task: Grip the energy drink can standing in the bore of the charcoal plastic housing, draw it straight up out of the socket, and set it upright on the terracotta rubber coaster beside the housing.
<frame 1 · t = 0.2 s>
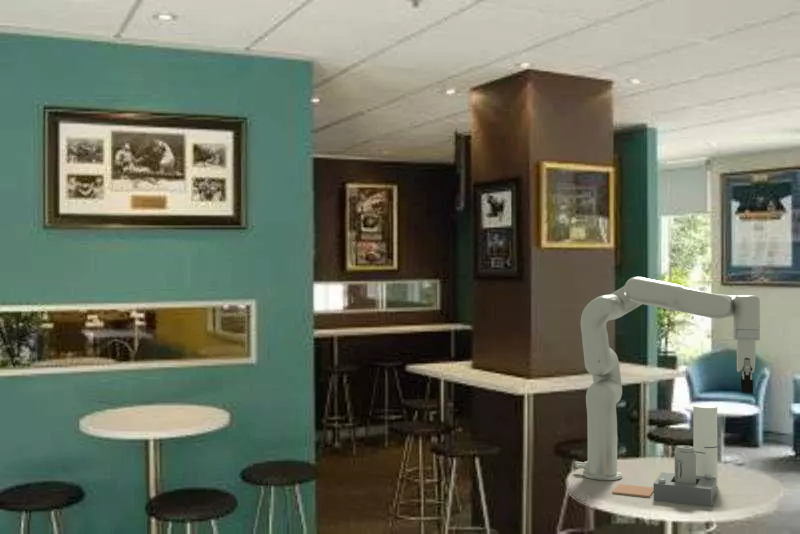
hand: (746, 390, 258), 31 cm above the table, fingers open, 9 cm apart
energy drink can: (685, 497, 251), resting in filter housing
coaster: (634, 491, 257), on the table
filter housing: (685, 497, 251), on the table
cylindrical container: (705, 486, 265), on the table
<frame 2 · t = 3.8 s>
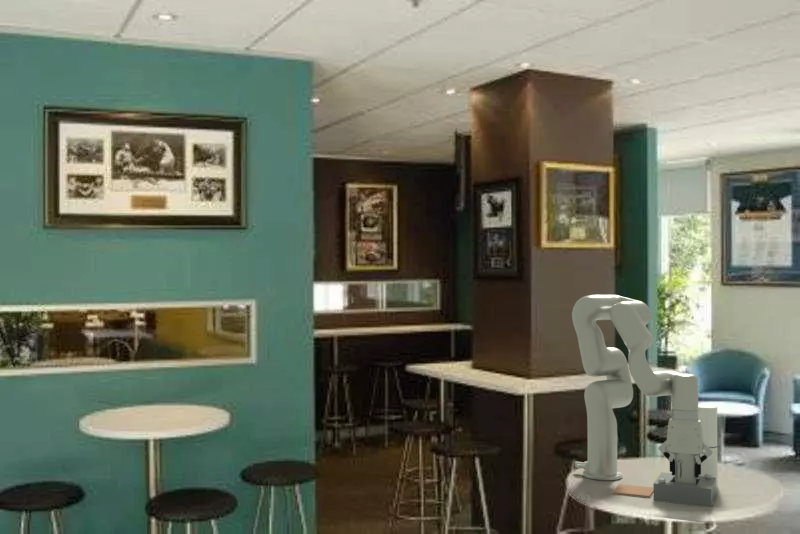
hand: (685, 475, 251), 7 cm above the table, fingers closed on energy drink can, 6 cm apart
energy drink can: (685, 497, 251), resting in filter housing, touching gripper
everything else where it was.
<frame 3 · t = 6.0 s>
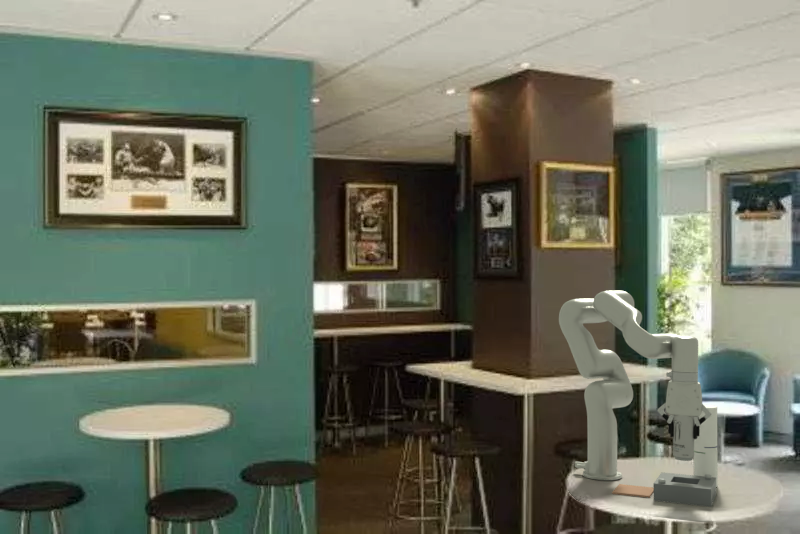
hand: (683, 436, 251), 18 cm above the table, fingers closed on energy drink can, 6 cm apart
energy drink can: (683, 459, 251), point 11 cm above the table, touching gripper
everything else where it was.
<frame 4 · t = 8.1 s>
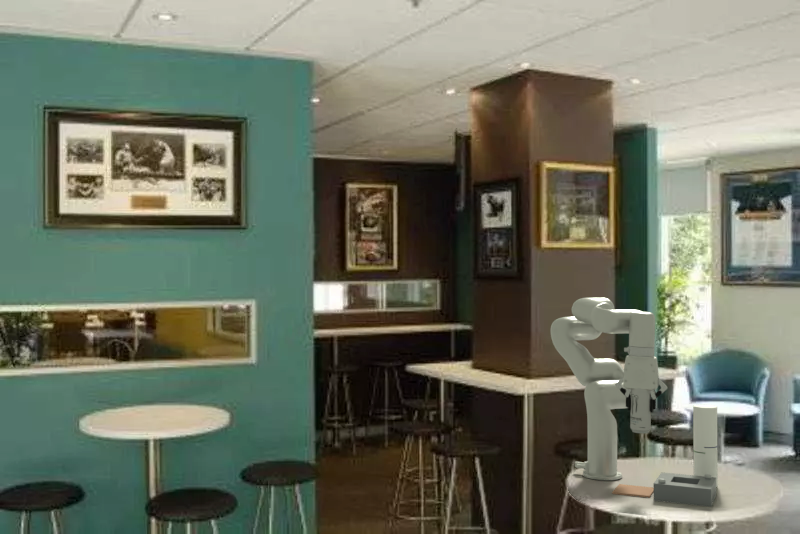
hand: (640, 410, 257), 25 cm above the table, fingers closed on energy drink can, 6 cm apart
energy drink can: (640, 432, 257), point 18 cm above the table, touching gripper
everything else where it was.
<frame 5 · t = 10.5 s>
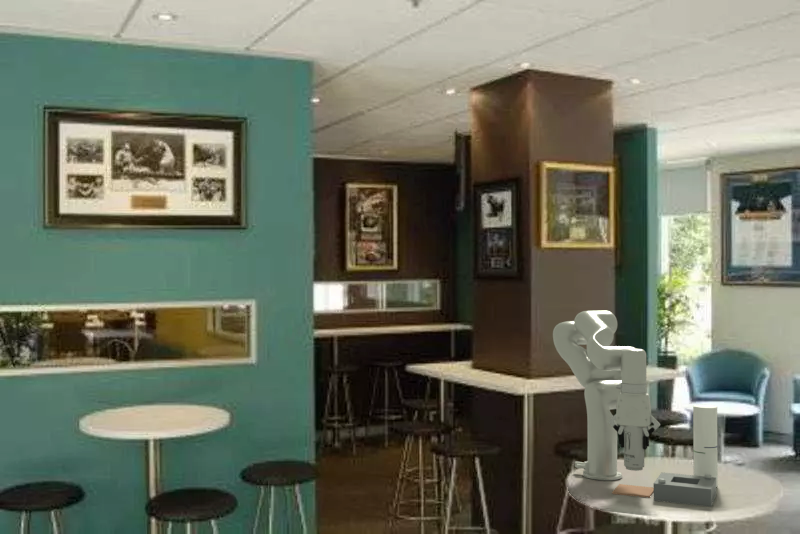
hand: (634, 447, 257), 14 cm above the table, fingers closed on energy drink can, 6 cm apart
energy drink can: (634, 469, 257), point 7 cm above the table, touching gripper
everything else where it was.
when the fingers open (8 cm above the table, at t = 12.5 s): energy drink can drops 1 cm, resting on coaster.
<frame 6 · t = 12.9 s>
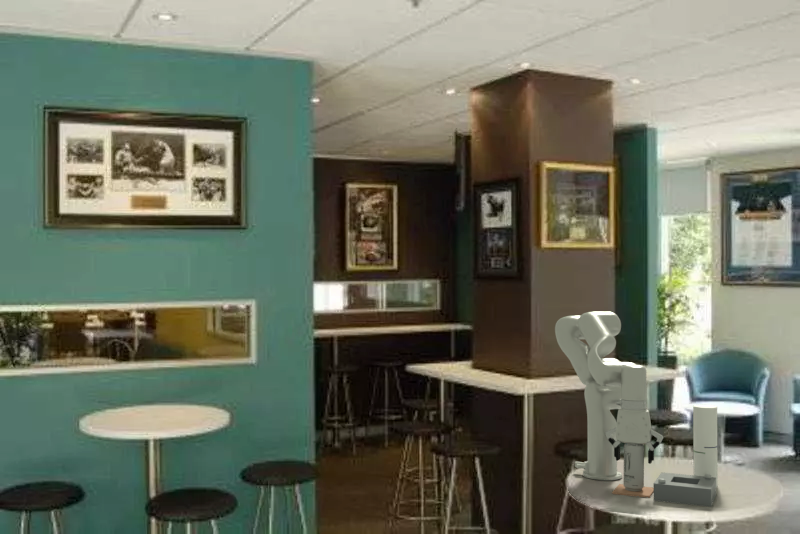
hand: (633, 461, 257), 9 cm above the table, fingers open, 9 cm apart
energy drink can: (633, 490, 257), resting on coaster
everything else where it was.
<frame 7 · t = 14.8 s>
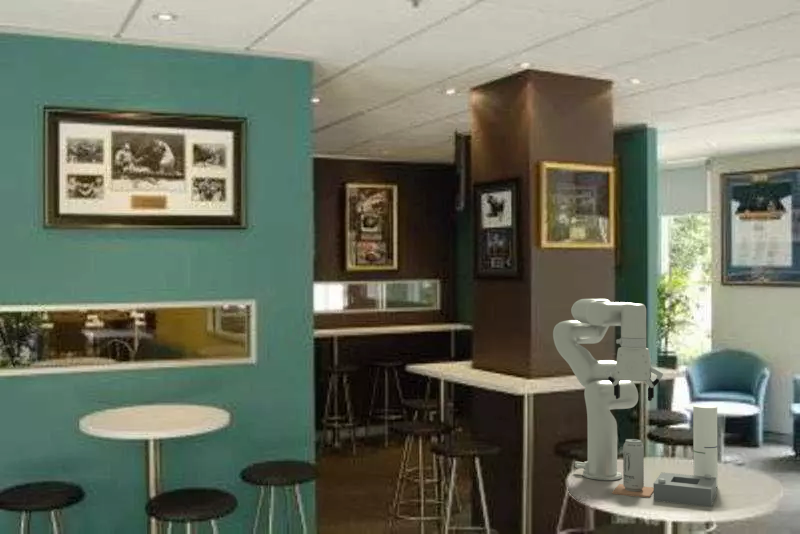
hand: (633, 399, 258), 28 cm above the table, fingers open, 9 cm apart
nothing on the table moved.
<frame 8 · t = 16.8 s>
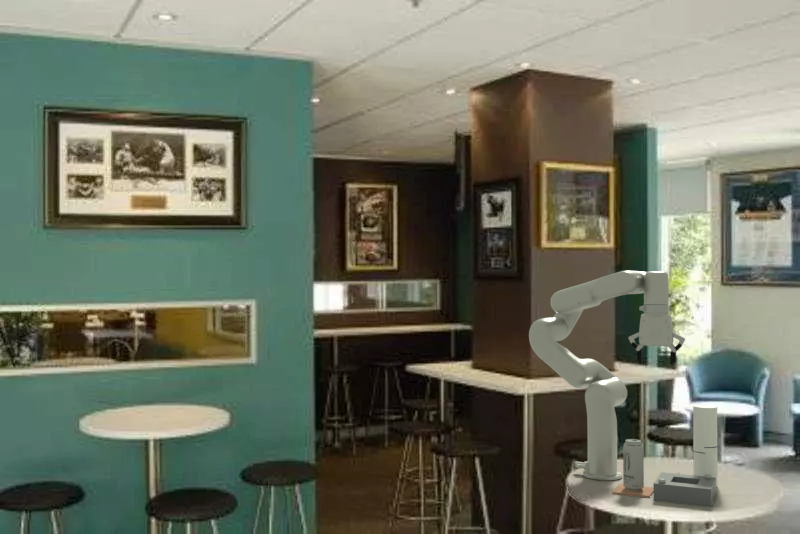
hand: (656, 363, 266), 38 cm above the table, fingers open, 9 cm apart
nothing on the table moved.
at the end: energy drink can inside the target area on the coaster (0.2 cm from its centre), point 0.4 cm above the coaster's base; energy drink can tilted 0°; the gripper is holding nothing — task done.
